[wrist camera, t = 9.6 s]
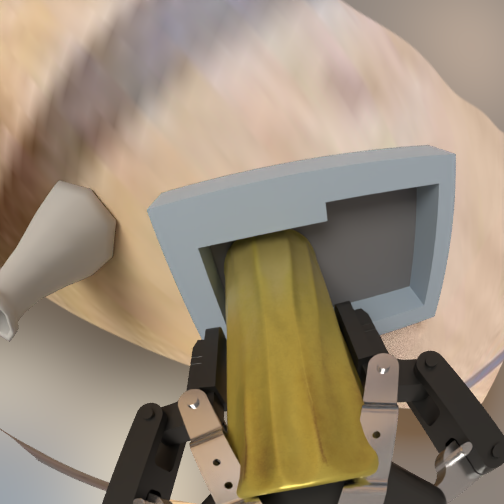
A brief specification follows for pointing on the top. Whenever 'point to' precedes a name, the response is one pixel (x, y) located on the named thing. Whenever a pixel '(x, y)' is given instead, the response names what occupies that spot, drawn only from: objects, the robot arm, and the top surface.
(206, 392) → the robot arm
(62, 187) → the flask
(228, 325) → the vase
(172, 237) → the keyhole board
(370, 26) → the top surface
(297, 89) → the top surface
